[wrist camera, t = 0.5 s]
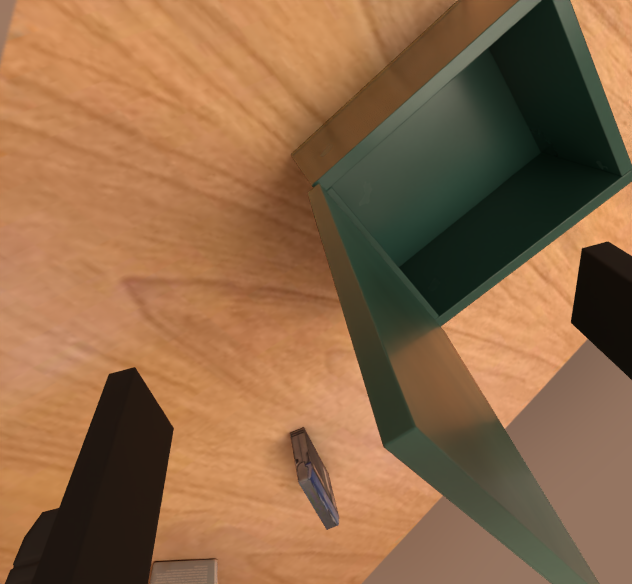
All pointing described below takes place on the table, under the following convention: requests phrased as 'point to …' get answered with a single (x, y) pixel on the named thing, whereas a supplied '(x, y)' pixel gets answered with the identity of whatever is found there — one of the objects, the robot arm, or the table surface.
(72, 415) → the table surface
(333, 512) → the mini dv tape
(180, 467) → the table surface
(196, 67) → the table surface
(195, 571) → the hard drive box
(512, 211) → the bin
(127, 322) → the table surface
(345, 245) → the bin lid
